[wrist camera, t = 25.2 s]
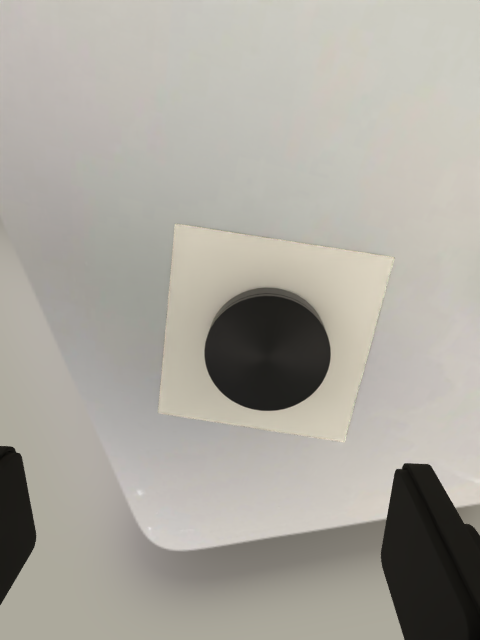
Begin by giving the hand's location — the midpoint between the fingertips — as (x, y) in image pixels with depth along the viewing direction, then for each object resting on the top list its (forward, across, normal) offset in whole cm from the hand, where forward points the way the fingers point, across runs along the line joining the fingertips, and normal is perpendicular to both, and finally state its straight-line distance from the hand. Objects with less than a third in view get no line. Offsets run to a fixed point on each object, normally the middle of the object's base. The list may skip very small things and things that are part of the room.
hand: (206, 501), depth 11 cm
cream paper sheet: (+15, -2, +2) cm, 15 cm away
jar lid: (+13, -2, +2) cm, 13 cm away
